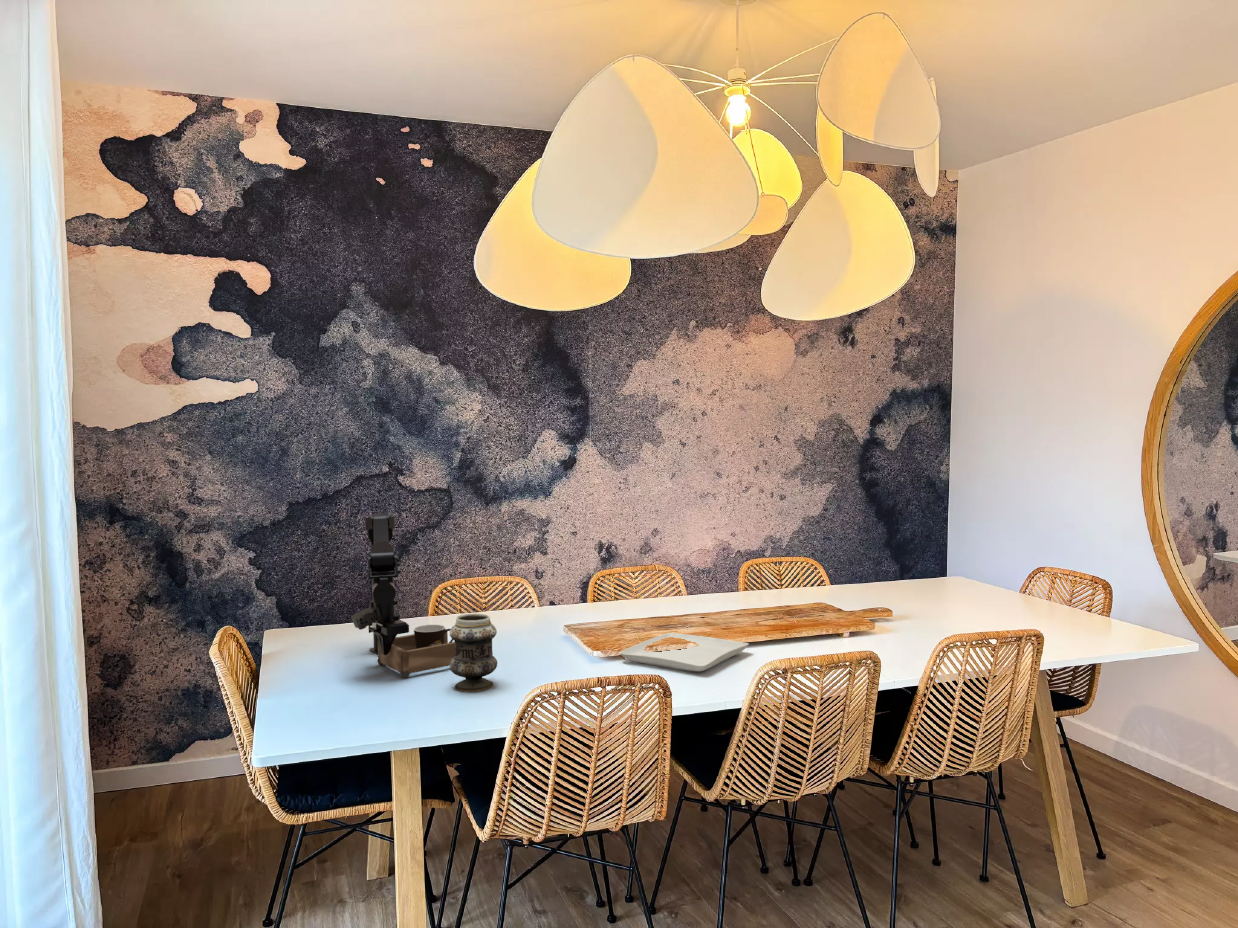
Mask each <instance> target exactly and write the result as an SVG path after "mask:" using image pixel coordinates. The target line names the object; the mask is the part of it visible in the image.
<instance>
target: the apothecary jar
mask: <svg viewBox="0 0 1238 928" xmlns="http://www.w3.org/2000/svg"><path fill="white" fill-rule="evenodd" d="M450 629H451V630H450V631H449V637H450V638H451V639H453V642H455V653H454V658H453V659H452V660H451V661H450V665H449V671H450V672H451V673H452V674H454V675H456V676H457V677H462V678H465V679H462V680H460V681H459V682H456V683H455V684H454V689H455V690H456V691H458V692H459V691H460V692H465V693H476V692H483V691H488V690H490V689H491V688H493V687H494V682H493V681H492V680H489V679H487V678H485V677H486V676H488V675H490V674H492V673H494V671H495V670H496V669H497V667H498V659H497V658H496V657H495V656H493V639H494V638H495V637H496V635H497V627H496V626H495V625H494V624H493V623H492V621H491V616H490V615H488V614H485V613H464V614H460V615H458V616H456V619H455V623H454V625H453V626H452V627H451V628H450Z"/></svg>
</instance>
